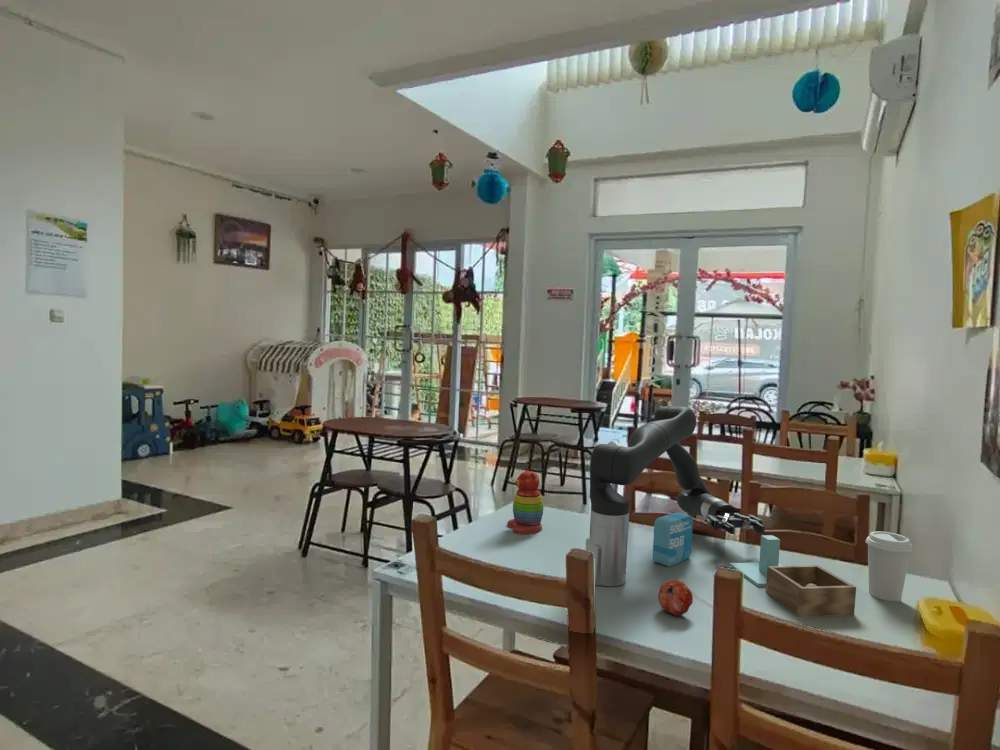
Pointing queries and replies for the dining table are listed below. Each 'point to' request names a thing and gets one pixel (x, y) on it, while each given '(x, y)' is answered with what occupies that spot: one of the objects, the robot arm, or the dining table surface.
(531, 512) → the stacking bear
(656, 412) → the robot arm
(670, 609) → the pomegranate
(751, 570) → the lid
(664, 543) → the data package
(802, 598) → the box
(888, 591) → the coffee cup
